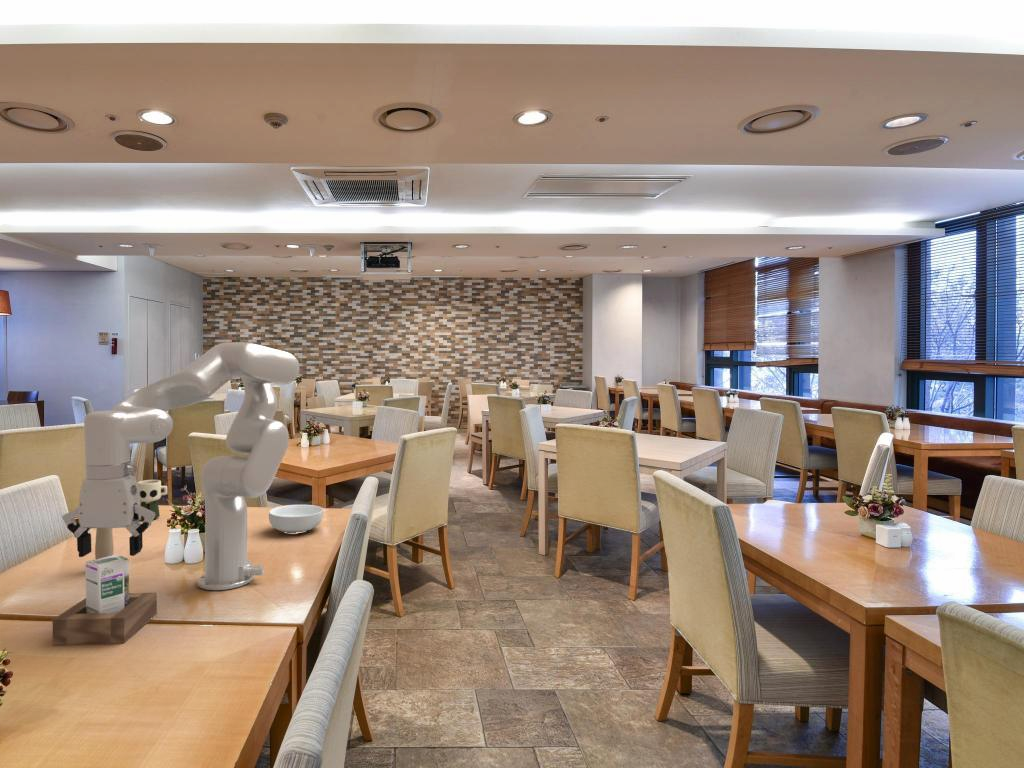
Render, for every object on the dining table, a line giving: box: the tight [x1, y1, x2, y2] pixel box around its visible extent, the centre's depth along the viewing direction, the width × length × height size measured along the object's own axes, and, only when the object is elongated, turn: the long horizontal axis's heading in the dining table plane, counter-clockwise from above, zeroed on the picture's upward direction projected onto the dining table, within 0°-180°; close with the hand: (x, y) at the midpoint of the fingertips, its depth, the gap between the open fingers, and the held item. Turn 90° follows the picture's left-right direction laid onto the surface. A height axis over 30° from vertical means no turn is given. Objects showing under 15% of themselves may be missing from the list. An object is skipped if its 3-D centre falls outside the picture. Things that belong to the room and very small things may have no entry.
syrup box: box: [84, 553, 130, 614], centre depth 122 cm, size 6×6×14 cm
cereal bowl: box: [268, 504, 324, 533], centre depth 194 cm, size 17×17×7 cm
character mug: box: [136, 479, 168, 521], centre depth 204 cm, size 11×7×13 cm, turn 116°
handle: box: [94, 528, 115, 560], centre depth 155 cm, size 5×6×15 cm
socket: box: [52, 591, 158, 646], centre depth 122 cm, size 13×13×5 cm
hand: (110, 554), depth 122 cm, fingers open, 9 cm apart
